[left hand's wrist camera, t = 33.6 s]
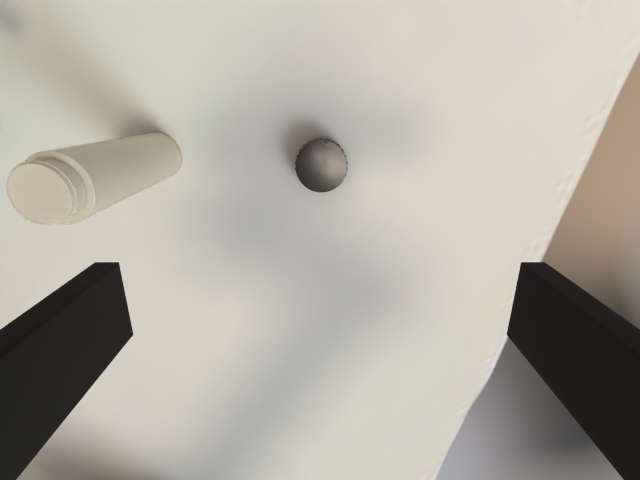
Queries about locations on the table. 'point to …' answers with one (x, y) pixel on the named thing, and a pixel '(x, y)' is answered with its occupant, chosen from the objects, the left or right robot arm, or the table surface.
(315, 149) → the lid
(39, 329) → the left robot arm
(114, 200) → the jar
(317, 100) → the table surface
